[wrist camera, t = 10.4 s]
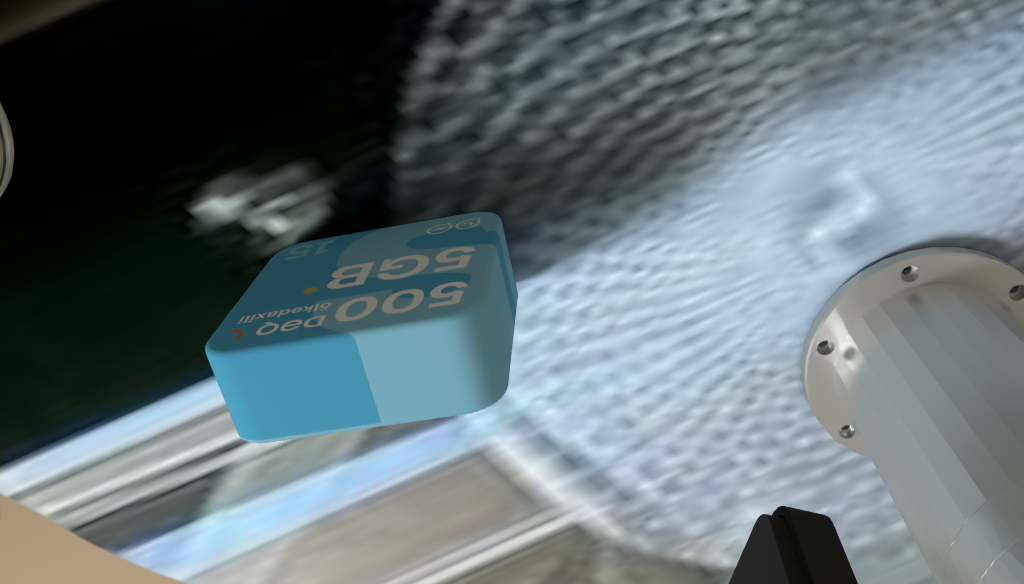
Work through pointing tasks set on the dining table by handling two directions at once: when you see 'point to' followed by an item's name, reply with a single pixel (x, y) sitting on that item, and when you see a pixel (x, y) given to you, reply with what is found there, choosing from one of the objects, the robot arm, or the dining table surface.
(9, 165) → the coffee can
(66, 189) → the dining table surface
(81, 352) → the dining table surface
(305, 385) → the data package
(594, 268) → the dining table surface
